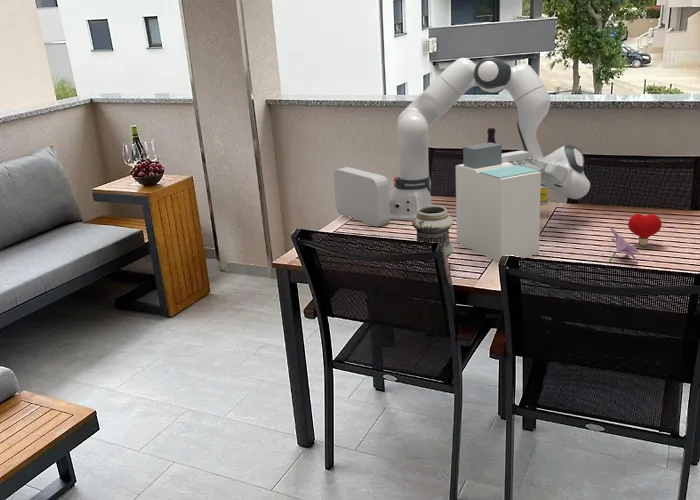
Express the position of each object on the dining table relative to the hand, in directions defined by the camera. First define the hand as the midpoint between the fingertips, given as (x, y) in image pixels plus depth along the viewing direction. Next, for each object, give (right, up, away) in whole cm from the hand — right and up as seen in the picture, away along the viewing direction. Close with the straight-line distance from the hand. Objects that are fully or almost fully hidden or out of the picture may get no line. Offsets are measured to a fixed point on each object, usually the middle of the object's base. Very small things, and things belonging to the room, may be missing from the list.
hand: (522, 157), depth 212 cm
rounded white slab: (-50, -18, +39) cm, 66 cm away
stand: (-9, -29, -2) cm, 30 cm away
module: (-9, -2, -4) cm, 10 cm away
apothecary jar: (-30, -35, -14) cm, 48 cm away
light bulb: (+35, -28, -9) cm, 46 cm away
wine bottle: (-1, -13, +43) cm, 45 cm away
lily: (+24, -33, -19) cm, 45 cm away
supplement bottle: (+18, -11, +43) cm, 48 cm away
